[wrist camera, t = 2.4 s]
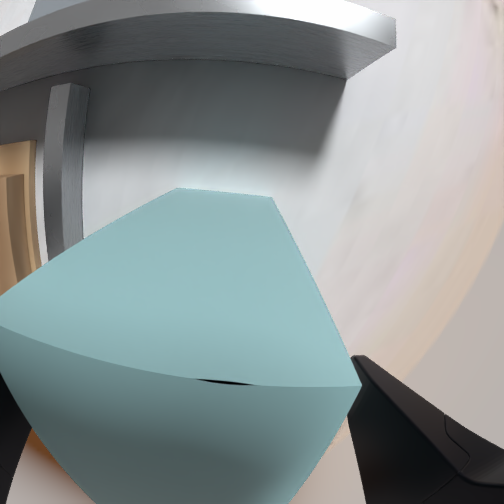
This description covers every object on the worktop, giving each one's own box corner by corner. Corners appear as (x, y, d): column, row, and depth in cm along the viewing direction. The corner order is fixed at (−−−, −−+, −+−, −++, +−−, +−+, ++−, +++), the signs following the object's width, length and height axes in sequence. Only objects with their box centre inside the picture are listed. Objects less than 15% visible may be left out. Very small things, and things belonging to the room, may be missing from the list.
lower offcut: (20, 333, 14) (11, 343, 12) (-5, 147, 10) (-20, 149, 9) (68, 351, 14) (59, 362, 13) (45, 139, 10) (30, 140, 9)
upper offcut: (9, 337, 12) (-1, 346, 11) (-19, 176, 9) (-35, 179, 8) (52, 354, 12) (42, 366, 11) (23, 173, 9) (6, 177, 8)
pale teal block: (175, 358, 13) (127, 531, 4) (177, 187, 10) (-23, 314, 2) (247, 366, 13) (247, 549, 4) (272, 197, 10) (362, 385, 2)
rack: (14, 366, 14) (-13, 399, 10) (-19, 84, 7) (-67, 82, 4) (275, 427, 15) (280, 482, 11) (349, 57, 8) (395, 18, 5)
